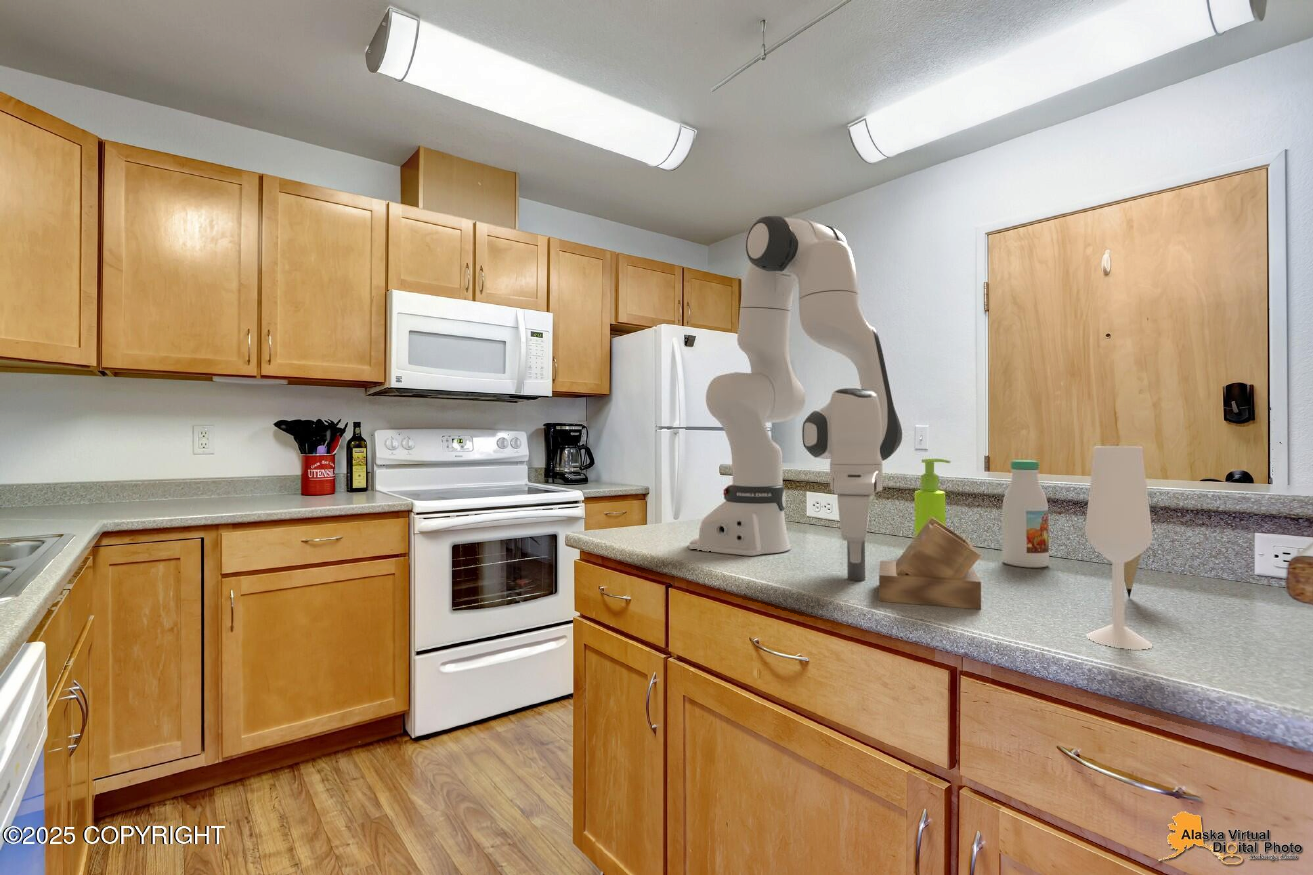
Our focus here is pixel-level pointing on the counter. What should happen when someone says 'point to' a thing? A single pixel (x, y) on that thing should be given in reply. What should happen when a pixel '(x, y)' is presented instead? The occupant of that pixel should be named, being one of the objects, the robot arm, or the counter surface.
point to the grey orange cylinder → (856, 565)
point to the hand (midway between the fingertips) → (856, 558)
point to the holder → (933, 571)
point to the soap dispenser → (929, 497)
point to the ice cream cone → (1130, 572)
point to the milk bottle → (1025, 518)
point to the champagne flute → (1118, 529)
